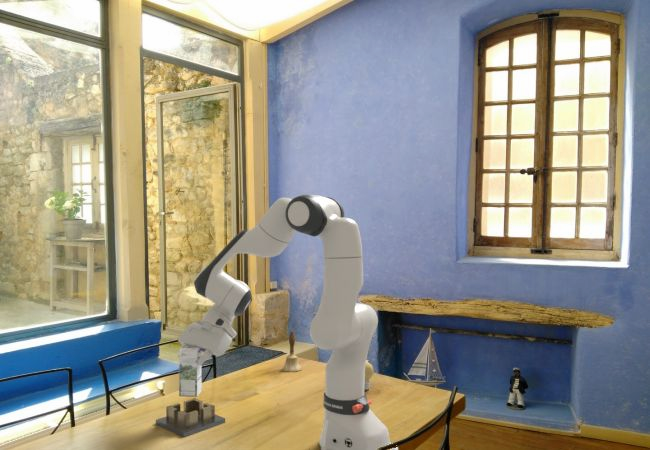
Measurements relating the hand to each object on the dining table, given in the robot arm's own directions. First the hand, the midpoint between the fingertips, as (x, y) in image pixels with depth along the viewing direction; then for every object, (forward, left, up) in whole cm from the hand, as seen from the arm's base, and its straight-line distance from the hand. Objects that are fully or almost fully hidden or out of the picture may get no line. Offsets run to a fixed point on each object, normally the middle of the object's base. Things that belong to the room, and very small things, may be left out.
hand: (189, 361), depth 163 cm
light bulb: (-21, -63, -20) cm, 69 cm away
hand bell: (+17, -63, -20) cm, 68 cm away
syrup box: (0, -1, -11) cm, 11 cm away
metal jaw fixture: (0, -1, -19) cm, 19 cm away
